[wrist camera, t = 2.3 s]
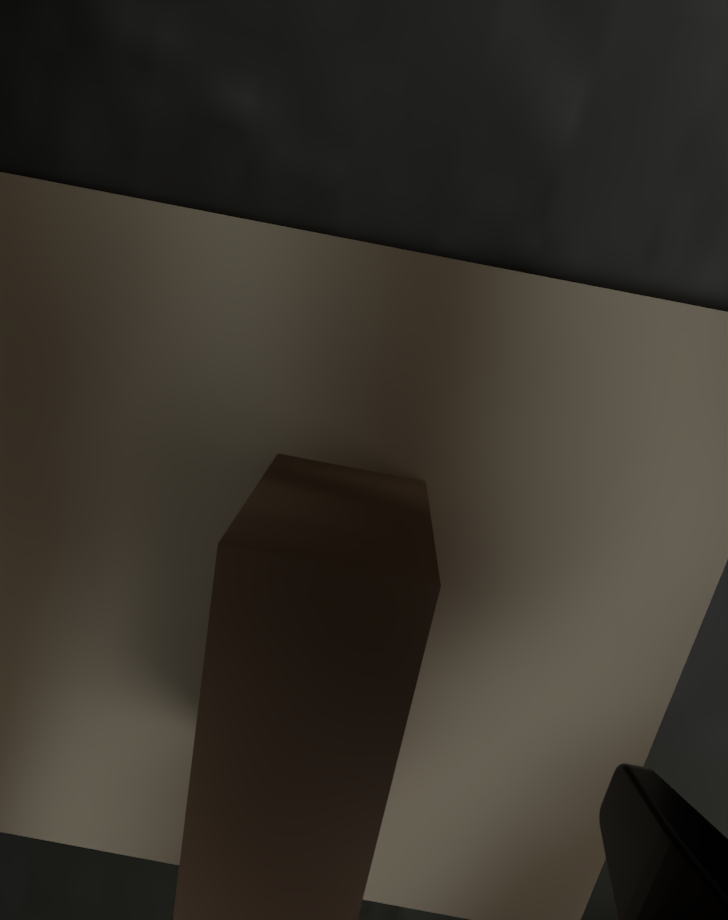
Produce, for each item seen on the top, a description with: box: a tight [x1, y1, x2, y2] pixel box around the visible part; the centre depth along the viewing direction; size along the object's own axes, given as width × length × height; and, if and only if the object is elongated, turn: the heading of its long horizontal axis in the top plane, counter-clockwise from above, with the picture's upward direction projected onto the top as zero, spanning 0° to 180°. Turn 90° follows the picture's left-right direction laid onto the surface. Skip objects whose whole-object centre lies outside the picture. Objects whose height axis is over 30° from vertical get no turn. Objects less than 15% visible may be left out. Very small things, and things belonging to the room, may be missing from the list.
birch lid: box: [0, 172, 728, 920], centre depth 10 cm, size 13×13×4 cm
